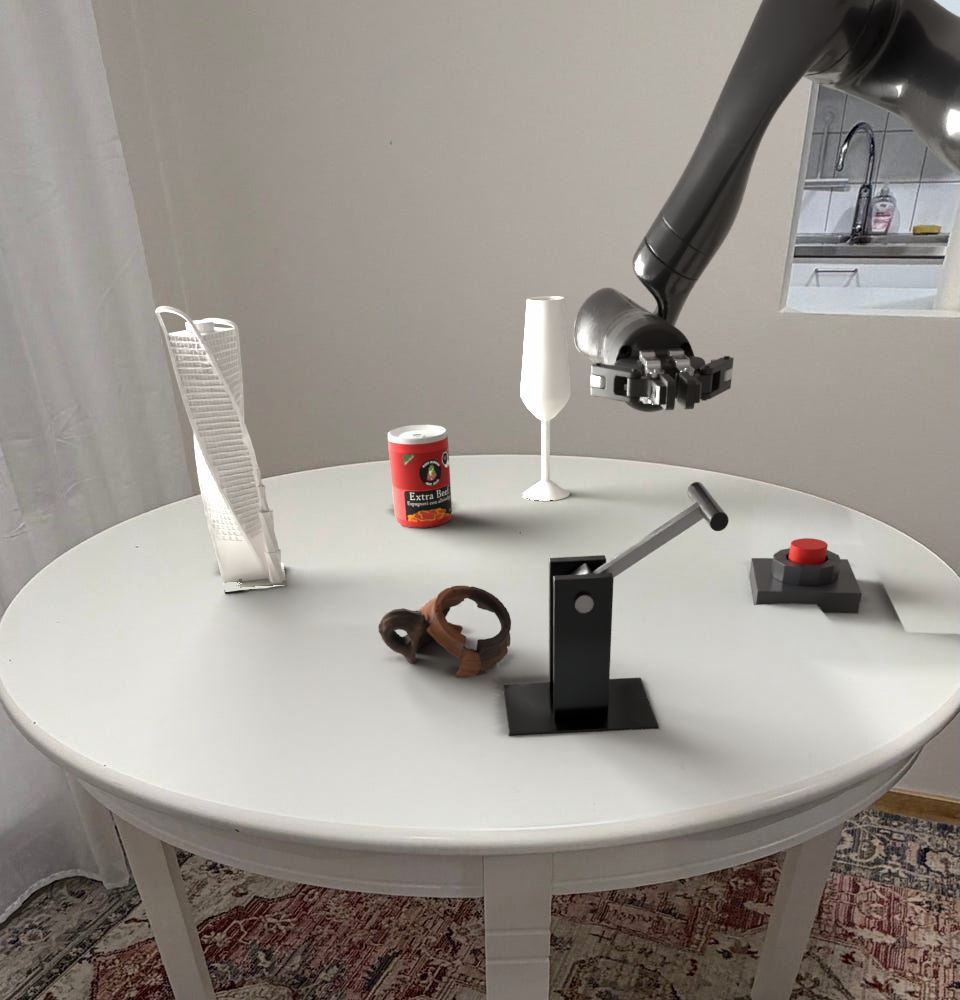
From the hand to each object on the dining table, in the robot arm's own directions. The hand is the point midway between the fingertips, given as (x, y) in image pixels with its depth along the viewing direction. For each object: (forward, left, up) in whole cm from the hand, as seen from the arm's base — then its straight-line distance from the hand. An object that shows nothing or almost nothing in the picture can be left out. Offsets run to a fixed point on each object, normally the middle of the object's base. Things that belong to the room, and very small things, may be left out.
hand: (681, 396), depth 78 cm
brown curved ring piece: (+20, +6, -22) cm, 30 cm away
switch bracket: (+7, +15, -22) cm, 27 cm away
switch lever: (+2, +14, -9) cm, 17 cm away
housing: (-14, -14, -22) cm, 30 cm away
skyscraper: (+48, -16, -22) cm, 55 cm away
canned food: (+32, -39, -22) cm, 55 cm away
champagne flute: (+17, -51, -22) cm, 58 cm away
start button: (-14, -14, -18) cm, 27 cm away
